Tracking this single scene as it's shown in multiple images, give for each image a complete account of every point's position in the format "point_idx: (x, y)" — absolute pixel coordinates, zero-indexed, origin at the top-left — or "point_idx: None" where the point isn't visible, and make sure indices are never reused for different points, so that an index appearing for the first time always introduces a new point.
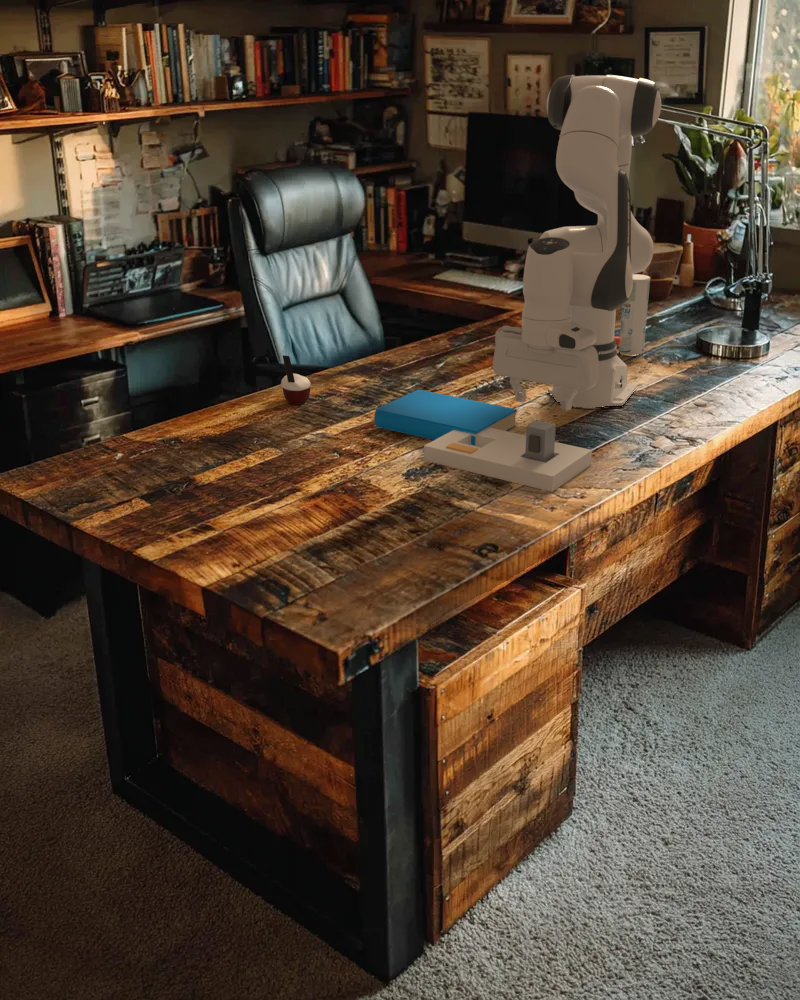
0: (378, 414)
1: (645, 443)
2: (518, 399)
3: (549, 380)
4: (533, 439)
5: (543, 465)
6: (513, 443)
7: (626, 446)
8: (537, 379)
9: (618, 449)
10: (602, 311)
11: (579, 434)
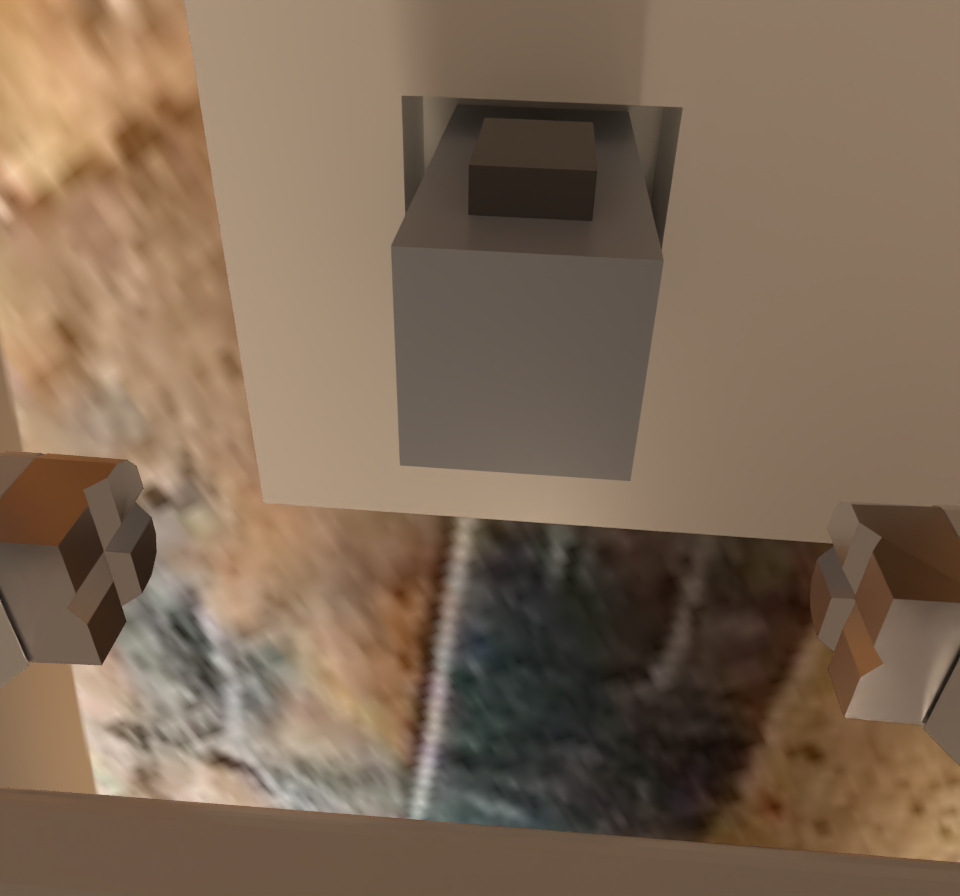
0: None
1: (280, 780)
2: (920, 516)
3: (39, 890)
4: (533, 157)
5: (384, 13)
6: (839, 366)
7: (328, 732)
8: (484, 891)
9: (338, 694)
10: None
11: (591, 770)
